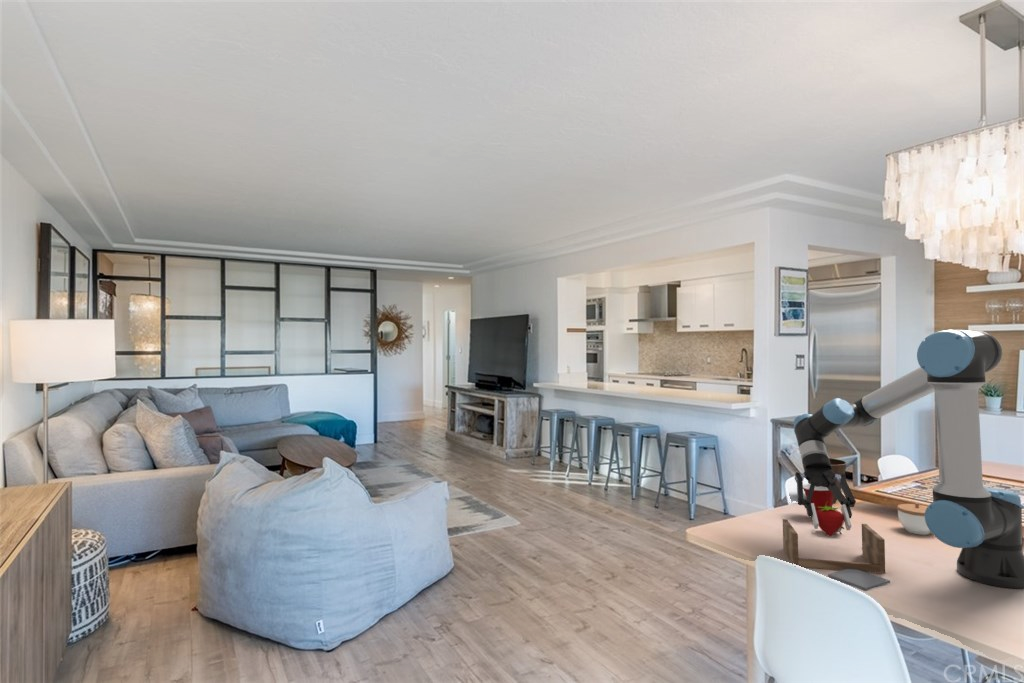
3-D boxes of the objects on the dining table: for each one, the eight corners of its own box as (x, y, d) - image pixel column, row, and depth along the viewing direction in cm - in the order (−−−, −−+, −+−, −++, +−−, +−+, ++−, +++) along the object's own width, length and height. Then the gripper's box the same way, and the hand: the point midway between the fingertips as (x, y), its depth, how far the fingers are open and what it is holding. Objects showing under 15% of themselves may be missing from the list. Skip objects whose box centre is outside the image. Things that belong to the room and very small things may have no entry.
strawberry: (846, 540, 156) (845, 504, 156) (816, 538, 159) (814, 502, 159) (843, 534, 161) (841, 499, 162) (813, 532, 164) (812, 497, 164)
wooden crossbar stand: (783, 549, 169) (782, 519, 169) (867, 555, 163) (866, 524, 163) (793, 566, 156) (792, 533, 156) (885, 573, 150) (884, 539, 150)
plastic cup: (808, 513, 206) (808, 480, 206) (841, 519, 198) (840, 485, 198) (797, 519, 198) (796, 485, 199) (830, 525, 190) (829, 490, 191)
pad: (890, 582, 144) (890, 580, 144) (866, 590, 139) (866, 588, 139) (852, 569, 153) (852, 567, 153) (828, 576, 148) (828, 574, 148)
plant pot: (850, 500, 222) (849, 459, 222) (844, 508, 211) (843, 466, 211) (808, 494, 232) (807, 455, 232) (800, 502, 220) (799, 461, 220)
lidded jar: (943, 532, 182) (943, 503, 182) (930, 539, 176) (929, 509, 176) (906, 524, 191) (905, 497, 191) (892, 530, 184) (891, 502, 185)
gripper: (849, 466, 173) (870, 535, 156) (777, 465, 178) (791, 531, 162) (854, 452, 168) (877, 522, 152) (780, 451, 173) (794, 518, 157)
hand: (832, 527), depth 157 cm, fingers closed on strawberry, 7 cm apart
